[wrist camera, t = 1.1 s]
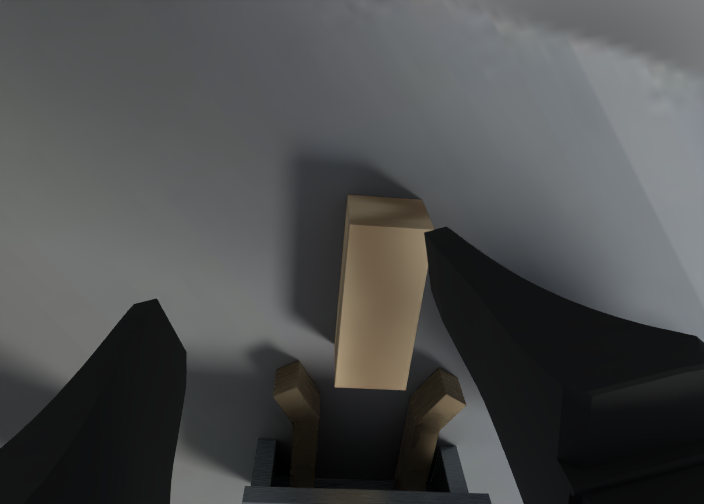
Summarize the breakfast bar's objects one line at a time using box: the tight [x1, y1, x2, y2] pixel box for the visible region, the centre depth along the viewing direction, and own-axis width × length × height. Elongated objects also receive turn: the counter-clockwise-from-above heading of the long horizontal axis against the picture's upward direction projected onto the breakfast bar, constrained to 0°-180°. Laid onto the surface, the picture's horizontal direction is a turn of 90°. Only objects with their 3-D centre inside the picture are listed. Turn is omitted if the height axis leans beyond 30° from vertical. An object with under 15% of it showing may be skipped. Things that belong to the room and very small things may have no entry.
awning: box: [242, 361, 491, 504], centre depth 32 cm, size 14×12×7 cm
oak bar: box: [334, 195, 434, 390], centre depth 28 cm, size 4×10×4 cm, turn 175°
